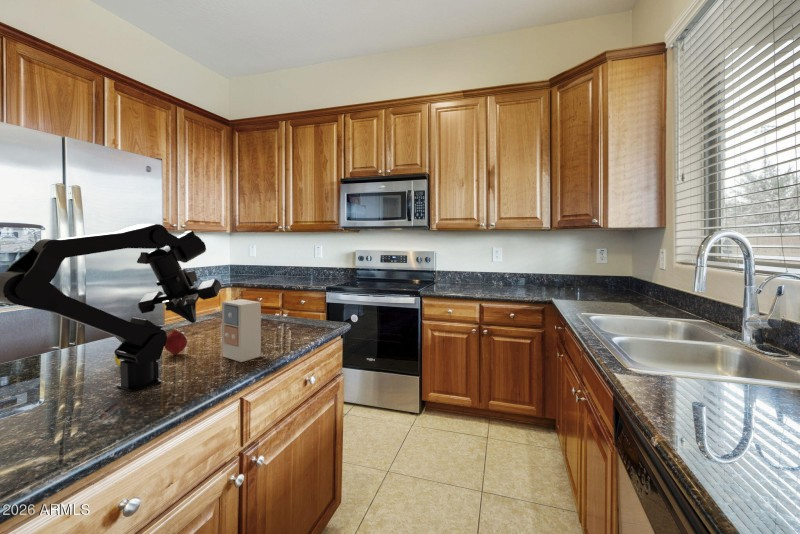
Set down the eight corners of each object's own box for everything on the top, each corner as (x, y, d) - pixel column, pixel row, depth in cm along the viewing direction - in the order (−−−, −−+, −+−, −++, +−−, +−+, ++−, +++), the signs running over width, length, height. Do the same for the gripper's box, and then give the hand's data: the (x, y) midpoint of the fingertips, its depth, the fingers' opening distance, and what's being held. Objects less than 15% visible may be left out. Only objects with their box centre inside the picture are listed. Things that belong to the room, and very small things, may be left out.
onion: (191, 352, 111) (191, 326, 110) (178, 358, 105) (177, 331, 104) (173, 351, 111) (173, 325, 111) (159, 357, 105) (159, 330, 105)
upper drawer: (236, 325, 103) (236, 307, 102) (223, 322, 106) (223, 305, 105) (244, 323, 105) (244, 306, 105) (232, 320, 108) (232, 304, 108)
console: (241, 362, 103) (241, 305, 102) (222, 356, 108) (221, 301, 107) (260, 356, 109) (260, 302, 107) (241, 351, 113) (241, 299, 112)
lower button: (236, 346, 103) (236, 328, 103) (223, 342, 106) (223, 325, 106) (244, 343, 105) (244, 327, 105) (232, 340, 109) (232, 324, 108)
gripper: (215, 250, 98) (235, 298, 106) (143, 265, 96) (169, 313, 104) (203, 268, 88) (227, 320, 96) (123, 286, 86) (153, 337, 94)
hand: (194, 321), depth 97 cm, fingers closed
